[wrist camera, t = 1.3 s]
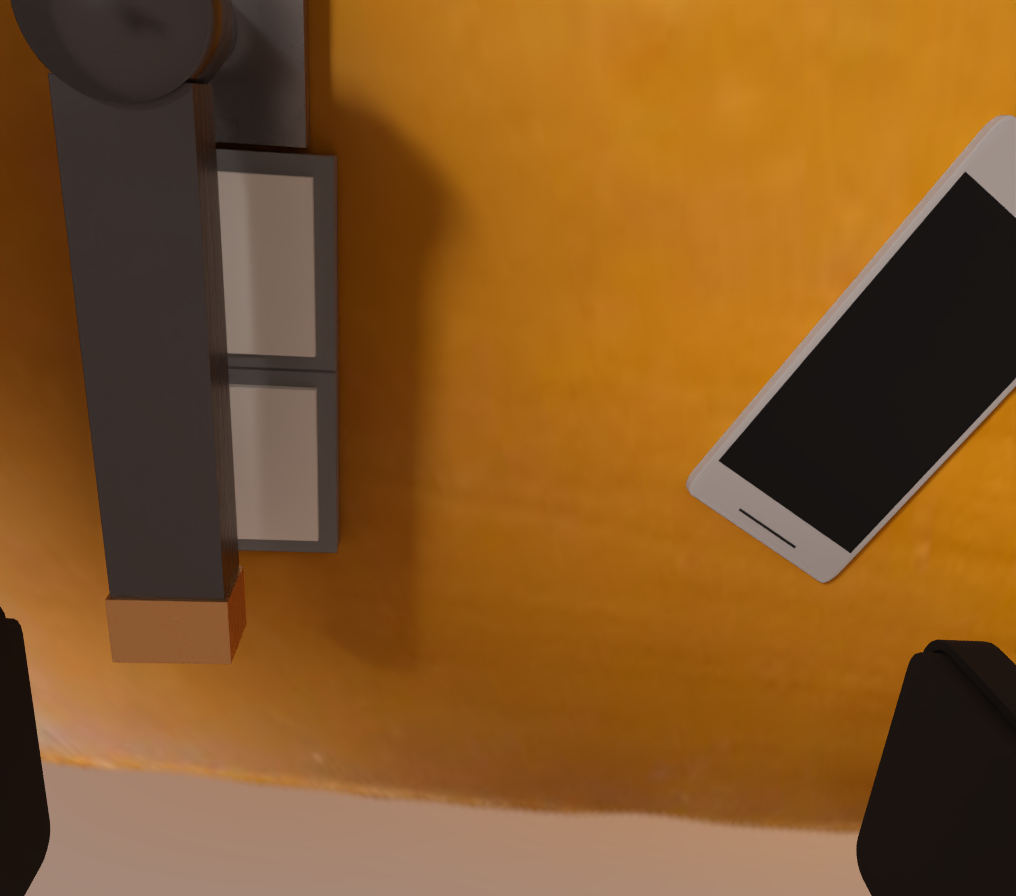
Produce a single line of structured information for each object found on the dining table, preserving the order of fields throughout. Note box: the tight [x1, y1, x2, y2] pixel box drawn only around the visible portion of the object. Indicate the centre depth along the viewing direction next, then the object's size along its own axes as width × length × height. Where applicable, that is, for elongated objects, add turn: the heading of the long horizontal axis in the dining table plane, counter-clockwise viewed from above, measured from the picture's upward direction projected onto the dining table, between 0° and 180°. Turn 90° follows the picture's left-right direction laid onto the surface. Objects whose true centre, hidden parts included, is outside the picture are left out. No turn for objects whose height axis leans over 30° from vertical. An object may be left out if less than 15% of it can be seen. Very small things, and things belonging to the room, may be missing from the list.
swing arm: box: [11, 0, 246, 664], centre depth 22 cm, size 18×4×2 cm, turn 176°
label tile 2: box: [216, 147, 338, 373], centre depth 26 cm, size 8×7×1 cm
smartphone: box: [686, 115, 1016, 583], centre depth 30 cm, size 7×16×1 cm, turn 144°
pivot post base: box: [207, 0, 310, 148], centre depth 22 cm, size 6×6×4 cm
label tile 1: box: [228, 366, 339, 553], centre depth 29 cm, size 8×7×1 cm
